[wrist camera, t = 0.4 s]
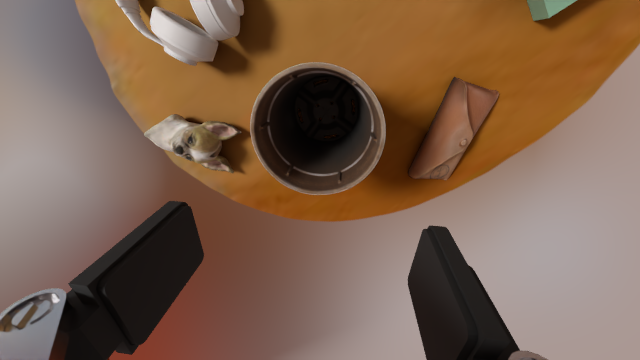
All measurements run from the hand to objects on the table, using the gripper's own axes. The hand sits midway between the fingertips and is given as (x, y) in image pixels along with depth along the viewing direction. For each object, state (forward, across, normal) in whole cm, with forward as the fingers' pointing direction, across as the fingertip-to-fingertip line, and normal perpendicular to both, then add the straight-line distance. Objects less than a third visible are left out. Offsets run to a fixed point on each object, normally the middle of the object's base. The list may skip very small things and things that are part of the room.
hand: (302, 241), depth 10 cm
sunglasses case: (+37, -20, +5) cm, 42 cm away
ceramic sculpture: (+36, +26, +9) cm, 46 cm away
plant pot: (+36, +2, +2) cm, 36 cm away
